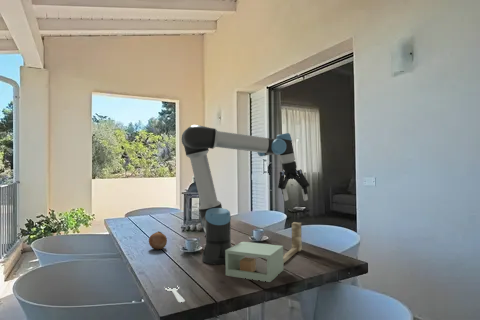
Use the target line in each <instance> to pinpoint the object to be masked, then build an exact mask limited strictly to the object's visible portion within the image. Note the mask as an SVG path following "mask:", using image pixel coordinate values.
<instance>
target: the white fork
mask: <svg viewBox="0 0 480 320" xmlns="http://www.w3.org/2000/svg"><path fill="white" fill-rule="evenodd" d="M178 286H179V285H177V287H178ZM164 288H165V287H164ZM168 288H169V287H168ZM178 289H179V290H180V286H179V287H178ZM178 289H176V288H173V289H171V288H169V289H167V288H165V289H164V291H166V290H167V291H166V292H170V291H172V294H173V295H174V297H175V300H176V301H177V302H178V303H181V302H182V303H185V302H186V300H185V298H183V296H182V295H181V294H179V290H178ZM182 303H181V304H182Z"/></svg>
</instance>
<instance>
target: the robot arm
mask: <svg viewBox="0 0 480 320" xmlns="http://www.w3.org/2000/svg"><path fill="white" fill-rule="evenodd" d="M181 144H182V146H184V148H183V149H184V152H185V156H186V157H188V158H189V161H190V164H191V168H192V173H193V177H194V182H195V186H196V189H197V193H198V198H199V203H200V206H199V207H198V210H199V211H198V212H199V216H200V218H199V220H200V223H201V226H202V227H203V229H204V228H205V229H206V233H205V246H204V250H203V252H202V262H204V263H205V264H209V265H224V264H225V250H227V249H229V248H231V247H233V245H232V241H231V237H232V235H231V234H232V233H231V225H232V224H231V220H232V216H231V212H230V210H228V209H227V208H223V205H222V203H221V201H219V200H218V198H217V192H216V188H215V185H214V181H213V175H212V172H211V168H210V164H209V163H210V162H209V160H208V159H209V158H208V153H209V152H210V151H209V150H210V149H212V150H213V149H215V148H221V149H228V150H230V149H231V150H236V151H237V150H238V151H244V152H253V153H256V154H258V156H259V157H266V156H270V155H271V156H272V155H273V156H274V155H277V156H278V155H279V157H280V162H281V167H282V170H283V171H282V170H281V171H279V180H278V187H277V189H281V194H282V195H283V201H284V202H286V201H289V194H288V190H287V188H286V187H287V185H288V183H289V181H290V180H295V181H296V182H297V183H298V185H299V186H300V187H301V195H302V198H303V201H304V202H307V201H309V198H308V187H310V186H311V185H310V183H309V181H308V180H307V178H306V176H305V175H304V173H303V171H302V169H297V162H296V158H295V151H294V145H293V139H292V137H291V134H290V133H289V132H288V133H287V132H286V133H282V134H277V135H276V138H271V137H270V138H269V137H264V136H263V137H262V136H257V135H248V134H243V133H242V134H241V133H233V132H227V131H226V132H225V131H219V130H218V129H217V128H214V127H207V126H203V125H199V124H192V125H191V126H189V127H187V128H186V129H185V130H184V131H183V132H182V135H181Z"/></svg>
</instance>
